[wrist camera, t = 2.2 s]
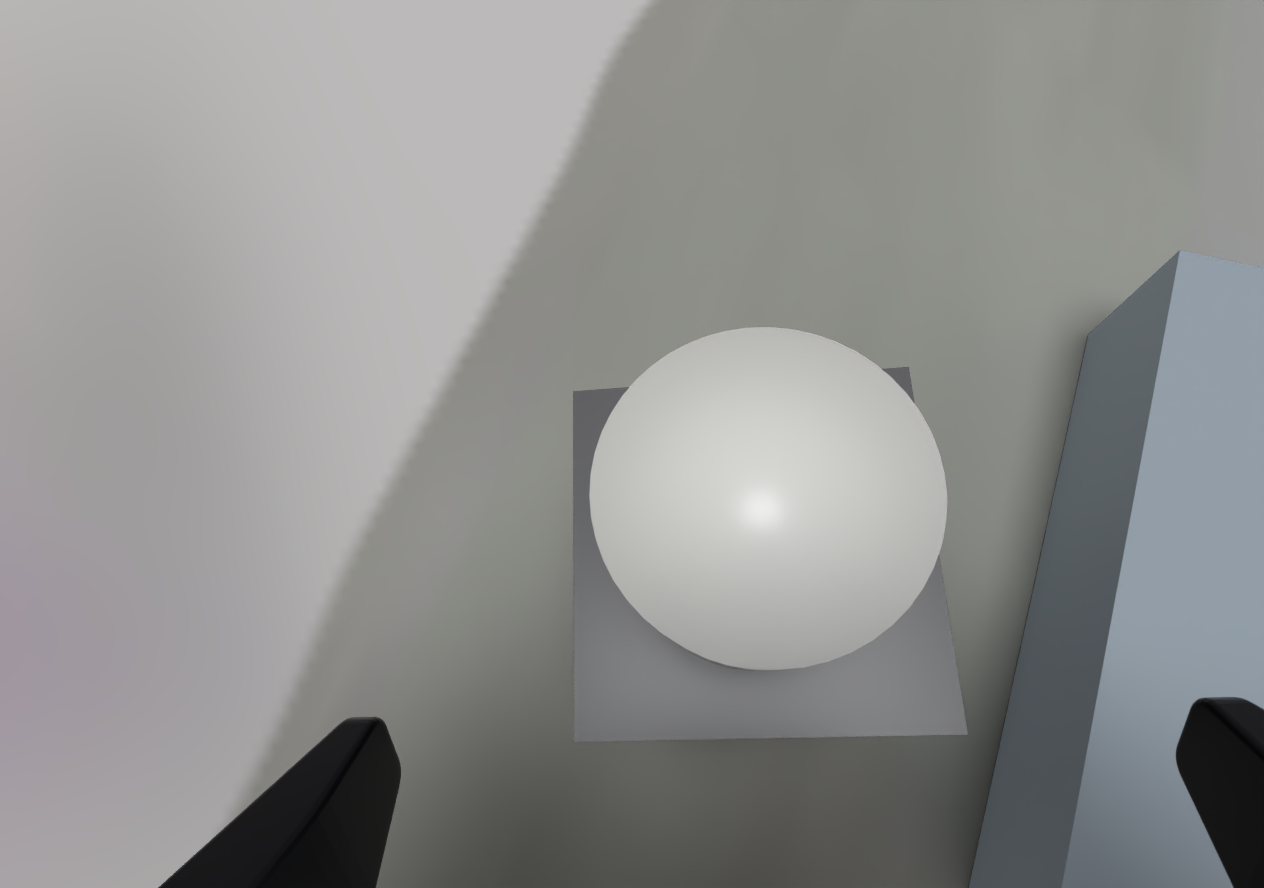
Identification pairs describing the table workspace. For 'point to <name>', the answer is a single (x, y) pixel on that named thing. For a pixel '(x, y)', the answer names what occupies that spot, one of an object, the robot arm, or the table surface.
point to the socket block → (1139, 593)
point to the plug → (759, 549)
